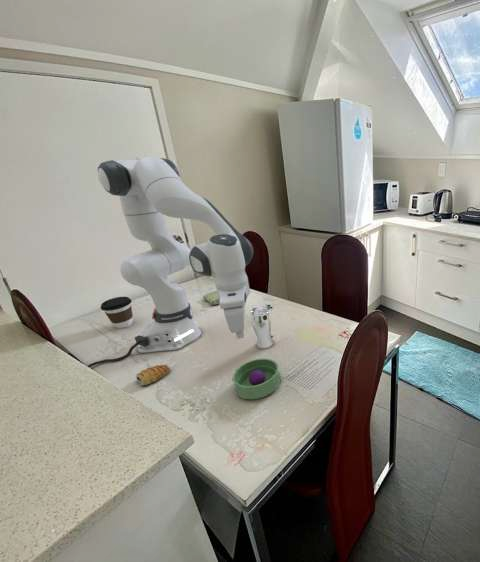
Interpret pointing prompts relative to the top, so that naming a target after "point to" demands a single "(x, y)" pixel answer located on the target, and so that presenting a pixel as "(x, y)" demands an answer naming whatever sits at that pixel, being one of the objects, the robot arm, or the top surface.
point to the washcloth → (212, 298)
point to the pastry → (152, 374)
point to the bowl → (261, 390)
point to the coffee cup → (119, 311)
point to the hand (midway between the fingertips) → (241, 329)
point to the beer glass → (262, 327)
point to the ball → (256, 377)
